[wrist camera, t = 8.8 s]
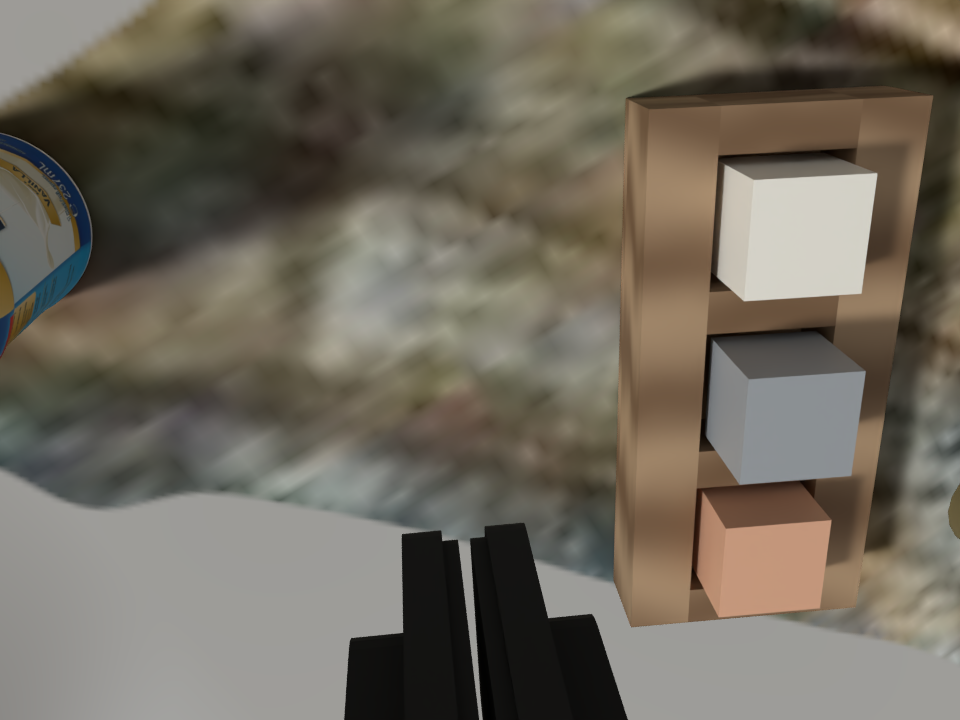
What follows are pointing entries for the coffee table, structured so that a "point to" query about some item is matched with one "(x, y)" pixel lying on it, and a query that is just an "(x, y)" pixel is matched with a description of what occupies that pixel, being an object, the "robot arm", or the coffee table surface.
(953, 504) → the cork
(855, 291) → the key ivory
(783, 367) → the grey cube
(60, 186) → the beverage bottle
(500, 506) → the coffee table surface
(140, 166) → the coffee table surface
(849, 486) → the wooden slotted tray
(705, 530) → the key terracotta
